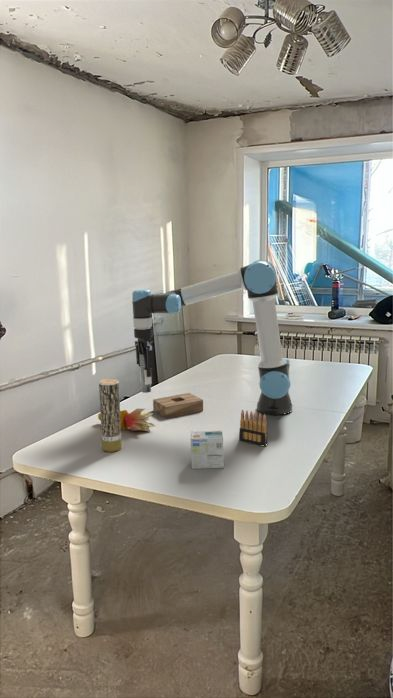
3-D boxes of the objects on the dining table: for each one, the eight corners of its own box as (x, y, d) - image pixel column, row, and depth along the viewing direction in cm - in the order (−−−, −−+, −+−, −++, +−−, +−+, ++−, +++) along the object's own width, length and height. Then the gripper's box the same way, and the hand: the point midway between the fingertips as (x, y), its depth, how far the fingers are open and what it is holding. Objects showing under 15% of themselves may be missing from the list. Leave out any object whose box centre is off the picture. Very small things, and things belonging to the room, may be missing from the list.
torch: (102, 431, 215) (155, 433, 204) (90, 428, 208) (144, 429, 197) (105, 411, 217) (157, 412, 206) (93, 407, 210) (147, 408, 199)
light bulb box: (222, 460, 177) (222, 429, 175) (224, 468, 171) (224, 437, 169) (190, 460, 177) (190, 430, 175) (191, 469, 171) (190, 438, 168)
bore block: (203, 410, 227) (203, 399, 226) (166, 418, 218) (165, 406, 217) (189, 403, 237) (189, 392, 236) (153, 410, 228) (153, 399, 227)
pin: (152, 391, 220) (150, 354, 217) (144, 393, 218) (142, 355, 215) (148, 389, 224) (146, 352, 220) (140, 390, 222) (138, 353, 218)
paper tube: (112, 443, 192) (109, 377, 187) (125, 448, 188) (122, 380, 183) (98, 449, 187) (94, 381, 182) (111, 454, 183) (107, 385, 178)
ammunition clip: (238, 440, 194) (239, 409, 191) (241, 439, 195) (241, 408, 193) (265, 446, 188) (266, 414, 186) (267, 445, 190) (268, 413, 187)
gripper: (160, 329, 210) (163, 386, 215) (142, 324, 224) (145, 377, 229) (143, 331, 206) (146, 389, 211) (126, 326, 221) (129, 379, 225)
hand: (145, 382), depth 220 cm, fingers closed on pin, 4 cm apart
